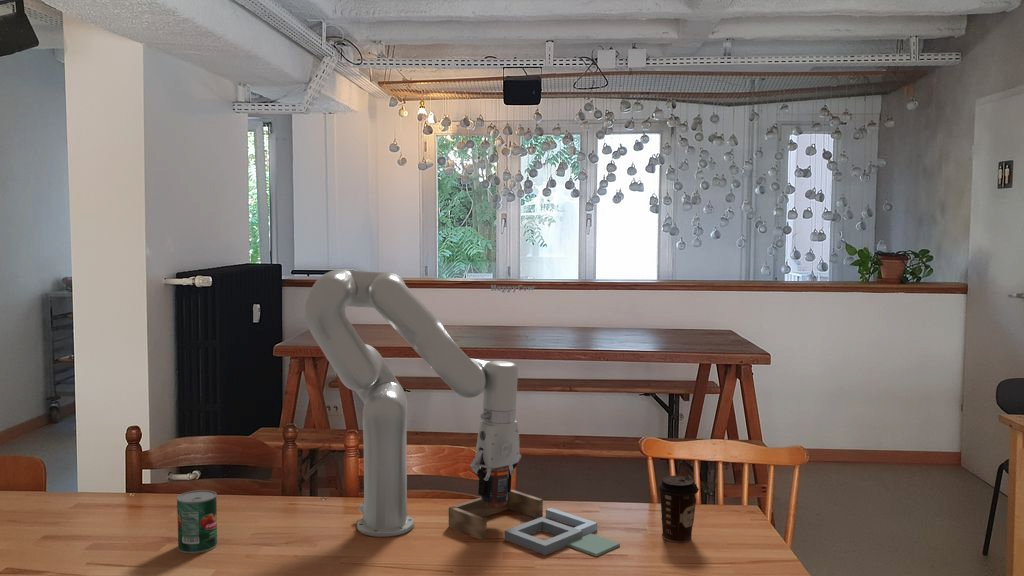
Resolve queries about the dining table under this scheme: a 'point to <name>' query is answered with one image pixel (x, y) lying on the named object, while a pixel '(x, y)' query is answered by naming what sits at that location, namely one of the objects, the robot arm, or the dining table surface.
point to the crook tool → (572, 521)
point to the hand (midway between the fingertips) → (494, 492)
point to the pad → (593, 544)
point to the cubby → (490, 512)
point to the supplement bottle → (497, 487)
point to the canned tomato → (197, 521)
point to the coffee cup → (677, 507)
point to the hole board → (524, 538)
